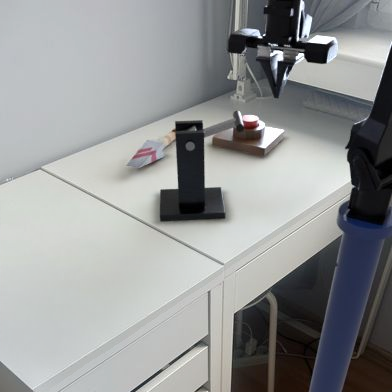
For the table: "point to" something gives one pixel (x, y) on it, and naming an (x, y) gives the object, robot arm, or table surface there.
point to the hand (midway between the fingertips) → (277, 97)
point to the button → (250, 121)
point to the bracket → (191, 180)
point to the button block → (249, 139)
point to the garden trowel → (151, 151)
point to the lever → (222, 126)
